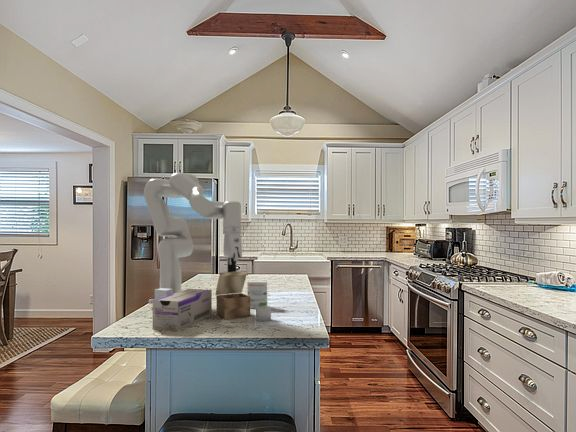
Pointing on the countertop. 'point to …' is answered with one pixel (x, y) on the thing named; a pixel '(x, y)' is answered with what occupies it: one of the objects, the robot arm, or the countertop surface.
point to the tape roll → (263, 313)
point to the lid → (231, 282)
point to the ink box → (257, 293)
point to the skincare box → (162, 292)
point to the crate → (233, 306)
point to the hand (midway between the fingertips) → (231, 274)
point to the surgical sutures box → (181, 309)
